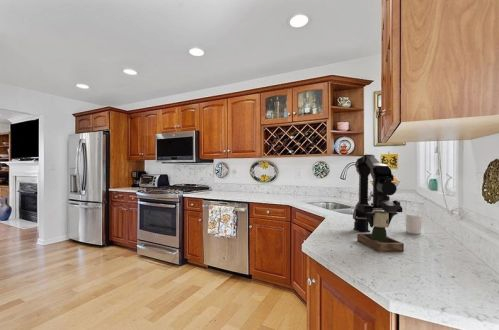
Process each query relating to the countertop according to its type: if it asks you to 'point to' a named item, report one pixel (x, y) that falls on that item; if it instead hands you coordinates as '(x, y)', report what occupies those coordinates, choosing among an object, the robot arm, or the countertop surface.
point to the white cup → (413, 223)
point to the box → (381, 243)
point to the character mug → (380, 225)
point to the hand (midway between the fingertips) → (379, 227)
